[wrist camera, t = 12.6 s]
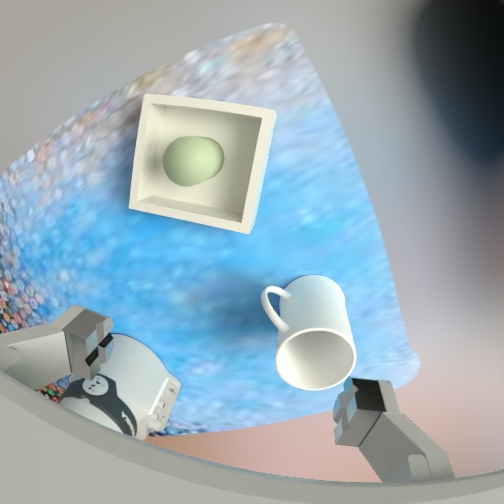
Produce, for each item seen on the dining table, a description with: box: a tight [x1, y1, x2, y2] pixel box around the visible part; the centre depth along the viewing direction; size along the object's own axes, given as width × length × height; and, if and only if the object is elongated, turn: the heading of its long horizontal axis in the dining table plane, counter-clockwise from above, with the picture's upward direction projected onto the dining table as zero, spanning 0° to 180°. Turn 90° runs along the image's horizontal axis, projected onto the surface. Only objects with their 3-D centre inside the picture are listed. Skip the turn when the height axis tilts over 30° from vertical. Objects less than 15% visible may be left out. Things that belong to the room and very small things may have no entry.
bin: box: [129, 94, 277, 234], centre depth 34 cm, size 13×14×5 cm
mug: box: [261, 275, 356, 391], centre depth 35 cm, size 12×8×12 cm
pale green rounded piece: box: [163, 136, 224, 187], centre depth 33 cm, size 5×5×6 cm
